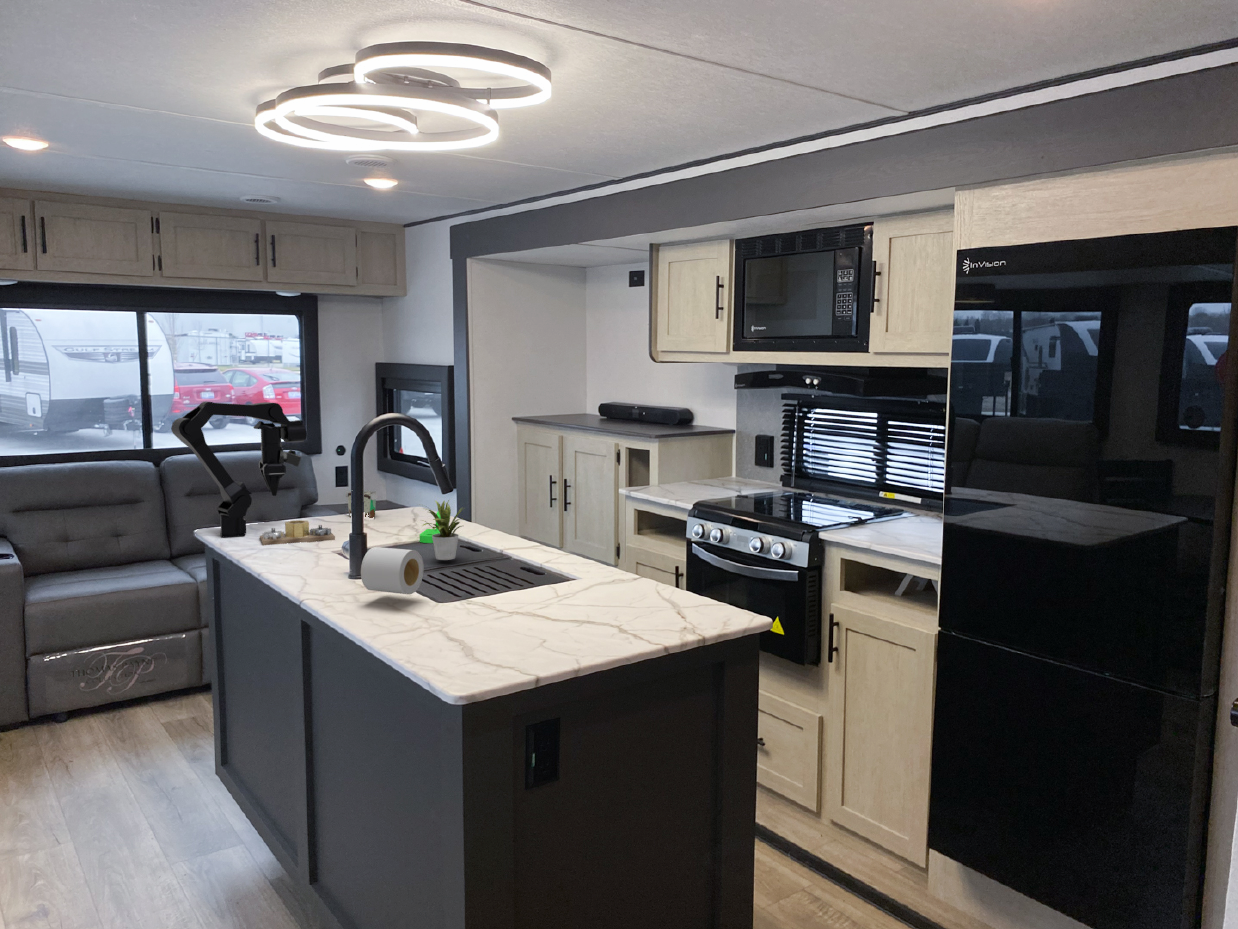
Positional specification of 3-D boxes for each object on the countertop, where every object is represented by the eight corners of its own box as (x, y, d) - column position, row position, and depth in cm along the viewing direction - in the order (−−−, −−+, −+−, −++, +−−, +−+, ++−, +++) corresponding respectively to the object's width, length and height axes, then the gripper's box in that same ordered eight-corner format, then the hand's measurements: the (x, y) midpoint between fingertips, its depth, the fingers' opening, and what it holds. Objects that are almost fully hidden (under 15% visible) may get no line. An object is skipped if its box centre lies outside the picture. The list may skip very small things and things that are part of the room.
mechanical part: (427, 535, 280) (426, 509, 279) (446, 535, 280) (446, 509, 279) (417, 542, 268) (416, 515, 267) (437, 543, 268) (437, 516, 267)
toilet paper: (423, 589, 212) (423, 546, 211) (399, 599, 202) (398, 554, 201) (386, 585, 215) (386, 543, 214) (361, 594, 206) (360, 551, 205)
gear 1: (263, 540, 263) (263, 530, 262) (261, 536, 268) (261, 527, 268) (285, 538, 265) (285, 529, 265) (283, 535, 271) (283, 526, 270)
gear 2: (311, 536, 269) (311, 527, 268) (308, 533, 274) (308, 524, 274) (332, 535, 271) (332, 526, 271) (329, 531, 277) (329, 523, 276)
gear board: (262, 545, 261) (262, 528, 260) (259, 539, 270) (259, 522, 269) (335, 540, 270) (334, 523, 269) (329, 534, 279) (329, 518, 278)
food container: (386, 521, 303) (385, 491, 302) (372, 524, 298) (371, 493, 297) (360, 518, 310) (360, 488, 309) (346, 520, 305) (345, 490, 304)
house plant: (406, 555, 248) (405, 496, 246) (452, 550, 256) (452, 492, 255) (429, 565, 237) (428, 503, 235) (476, 558, 245) (476, 498, 243)
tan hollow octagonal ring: (287, 538, 265) (286, 524, 265) (284, 534, 271) (284, 521, 271) (310, 536, 268) (309, 523, 268) (307, 533, 274) (306, 519, 273)
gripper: (302, 444, 274) (304, 496, 276) (295, 440, 291) (296, 488, 292) (263, 446, 269) (265, 498, 271) (257, 441, 286) (259, 490, 288)
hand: (272, 493), depth 281 cm, fingers open, 9 cm apart
